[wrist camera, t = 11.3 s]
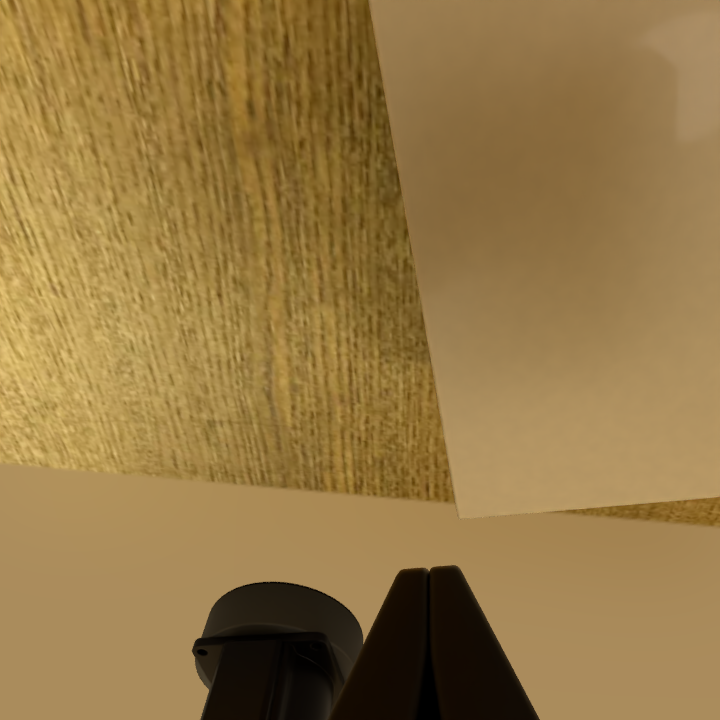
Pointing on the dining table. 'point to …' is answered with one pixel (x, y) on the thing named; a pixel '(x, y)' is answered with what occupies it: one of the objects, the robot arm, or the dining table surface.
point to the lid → (564, 242)
